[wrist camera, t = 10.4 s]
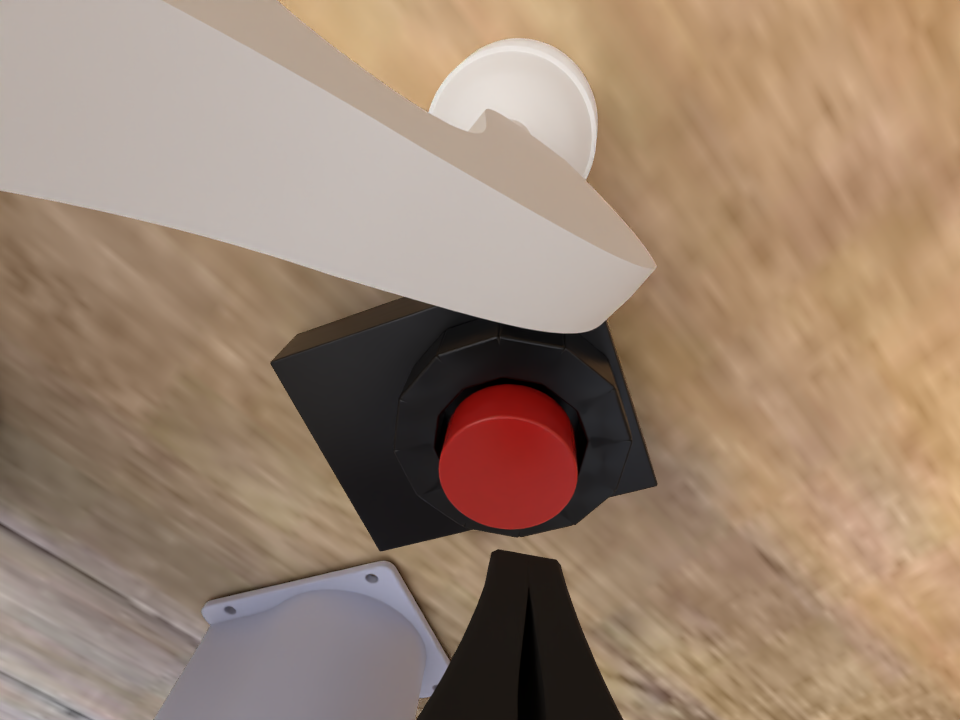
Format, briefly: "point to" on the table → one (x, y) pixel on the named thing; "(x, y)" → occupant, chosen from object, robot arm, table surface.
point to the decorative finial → (321, 153)
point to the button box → (451, 409)
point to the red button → (509, 457)
